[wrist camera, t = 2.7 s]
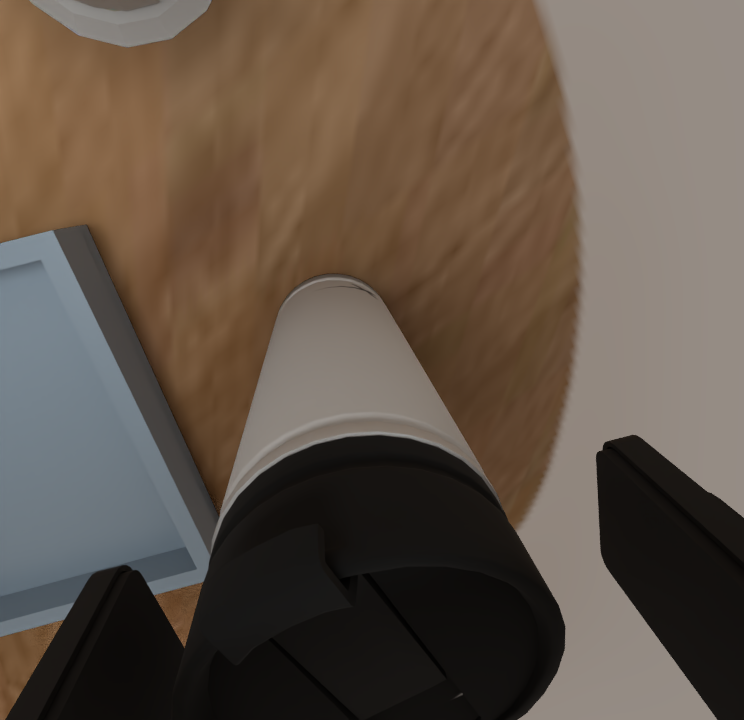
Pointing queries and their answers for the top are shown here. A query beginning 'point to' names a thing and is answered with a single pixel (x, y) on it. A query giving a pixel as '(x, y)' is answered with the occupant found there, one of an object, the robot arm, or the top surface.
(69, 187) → the top surface
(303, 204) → the top surface
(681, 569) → the robot arm
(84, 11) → the french press
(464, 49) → the top surface
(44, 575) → the tray
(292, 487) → the travel mug
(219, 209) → the top surface
